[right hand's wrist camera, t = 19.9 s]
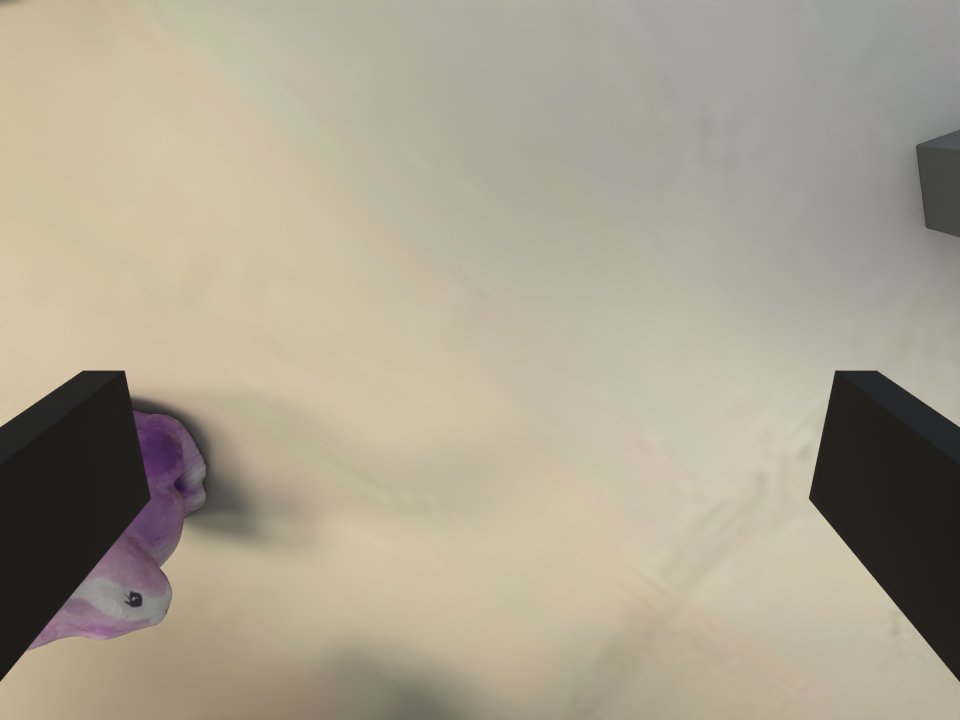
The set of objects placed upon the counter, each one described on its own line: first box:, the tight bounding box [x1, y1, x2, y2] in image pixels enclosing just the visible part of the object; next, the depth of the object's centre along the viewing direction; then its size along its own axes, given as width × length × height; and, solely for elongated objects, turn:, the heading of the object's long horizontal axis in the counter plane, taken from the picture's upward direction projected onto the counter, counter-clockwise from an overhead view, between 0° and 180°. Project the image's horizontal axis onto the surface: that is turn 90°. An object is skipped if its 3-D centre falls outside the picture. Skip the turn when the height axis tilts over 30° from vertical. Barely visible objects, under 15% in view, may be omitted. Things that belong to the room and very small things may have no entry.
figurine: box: [26, 410, 206, 651], centre depth 38 cm, size 9×10×15 cm
